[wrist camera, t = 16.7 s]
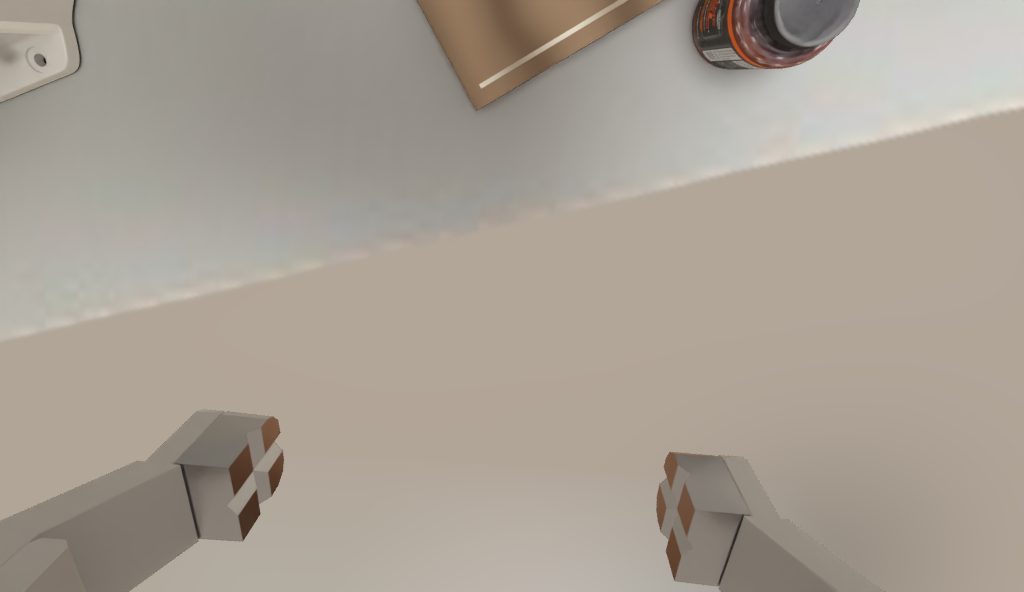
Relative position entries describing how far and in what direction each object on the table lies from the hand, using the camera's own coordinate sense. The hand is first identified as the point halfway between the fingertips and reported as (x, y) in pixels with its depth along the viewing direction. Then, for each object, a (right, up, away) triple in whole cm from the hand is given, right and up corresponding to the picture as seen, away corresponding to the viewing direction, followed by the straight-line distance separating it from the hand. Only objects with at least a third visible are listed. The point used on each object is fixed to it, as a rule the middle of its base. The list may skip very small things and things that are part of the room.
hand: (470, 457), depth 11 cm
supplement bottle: (+16, +22, +24) cm, 36 cm away
